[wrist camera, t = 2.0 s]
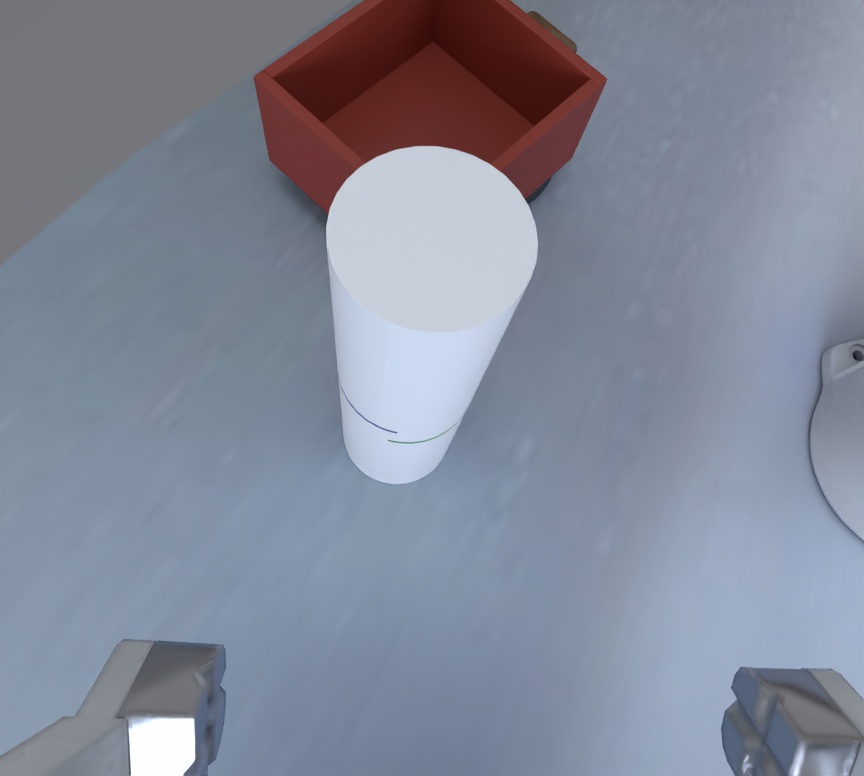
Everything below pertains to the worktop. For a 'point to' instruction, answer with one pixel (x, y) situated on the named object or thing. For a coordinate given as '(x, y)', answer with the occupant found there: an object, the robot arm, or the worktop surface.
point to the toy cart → (427, 92)
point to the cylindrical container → (421, 299)
